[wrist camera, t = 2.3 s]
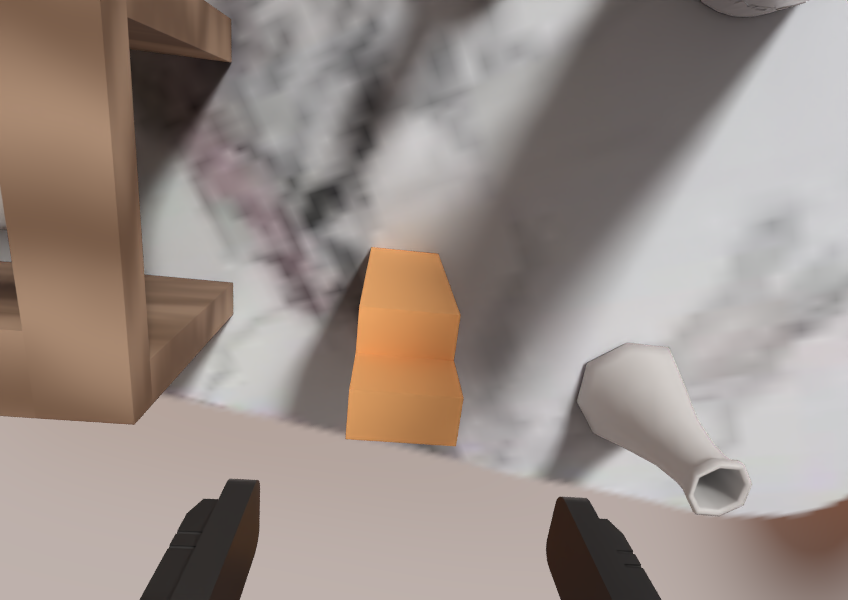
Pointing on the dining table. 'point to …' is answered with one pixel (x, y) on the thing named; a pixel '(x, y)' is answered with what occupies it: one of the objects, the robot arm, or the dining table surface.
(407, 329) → the stepped orange block
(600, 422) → the flask
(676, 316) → the dining table surface
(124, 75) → the brown square frame
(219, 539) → the robot arm
